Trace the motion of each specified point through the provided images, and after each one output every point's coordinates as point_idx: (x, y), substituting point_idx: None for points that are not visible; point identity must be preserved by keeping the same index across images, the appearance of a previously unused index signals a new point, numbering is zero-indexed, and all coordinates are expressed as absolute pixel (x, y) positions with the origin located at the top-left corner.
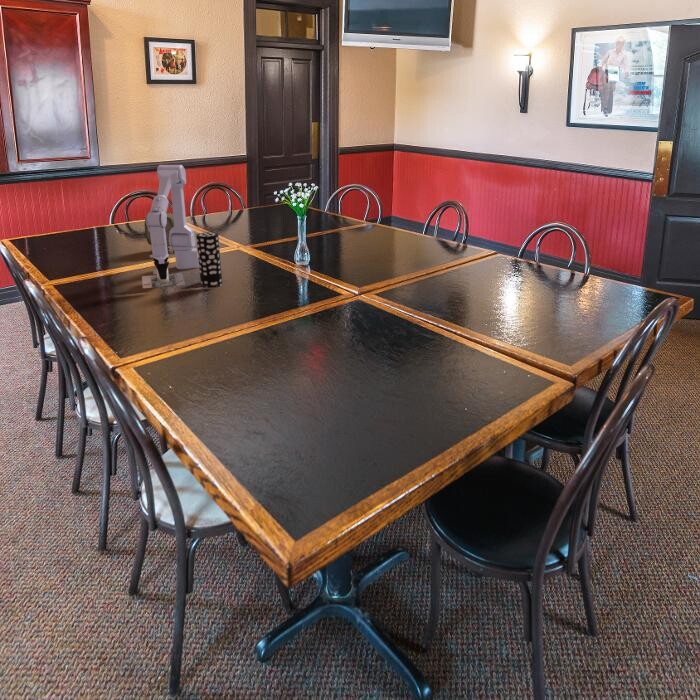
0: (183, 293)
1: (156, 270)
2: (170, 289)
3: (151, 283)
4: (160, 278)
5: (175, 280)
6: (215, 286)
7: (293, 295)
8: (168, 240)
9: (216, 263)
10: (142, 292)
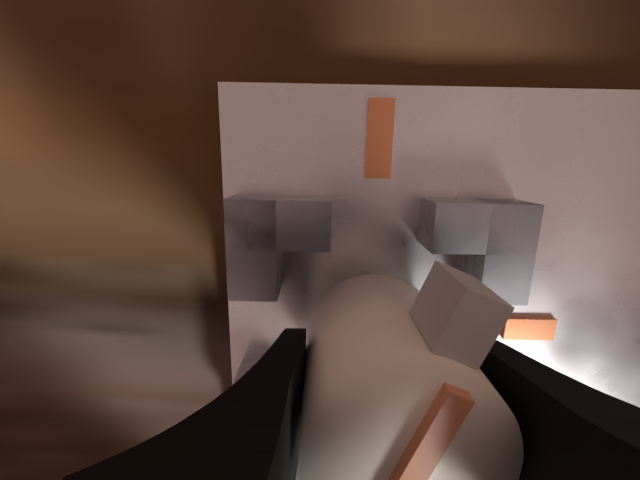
0: (41, 446)
1: (388, 353)
2: (200, 358)
3: (399, 196)
4: (281, 333)
5: None
6: None
7: None
8: None
9: None
10: (163, 76)
